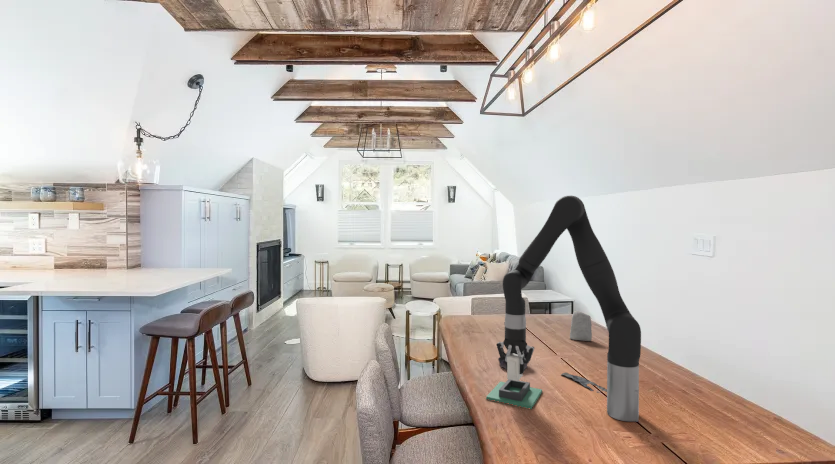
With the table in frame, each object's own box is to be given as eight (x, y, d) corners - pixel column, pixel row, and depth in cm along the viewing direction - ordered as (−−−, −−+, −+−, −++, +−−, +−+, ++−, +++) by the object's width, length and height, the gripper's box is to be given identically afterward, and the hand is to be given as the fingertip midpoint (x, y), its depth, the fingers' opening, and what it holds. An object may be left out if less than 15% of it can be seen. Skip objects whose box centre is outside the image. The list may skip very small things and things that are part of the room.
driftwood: (558, 375, 170) (558, 370, 170) (572, 373, 172) (572, 368, 172) (596, 396, 150) (597, 390, 150) (611, 393, 152) (611, 388, 152)
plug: (522, 375, 151) (522, 354, 151) (517, 382, 145) (517, 359, 144) (511, 373, 153) (512, 352, 152) (506, 379, 147) (506, 357, 146)
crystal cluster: (493, 369, 178) (495, 347, 176) (501, 357, 190) (503, 337, 188) (525, 377, 172) (526, 354, 170) (531, 364, 184) (532, 343, 182)
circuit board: (542, 392, 152) (542, 382, 152) (531, 409, 138) (531, 399, 138) (500, 383, 160) (500, 375, 160) (486, 399, 146) (486, 389, 146)
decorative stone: (592, 340, 219) (592, 312, 219) (590, 342, 214) (590, 314, 214) (571, 337, 225) (571, 309, 224) (568, 339, 220) (569, 312, 219)
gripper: (537, 325, 149) (537, 372, 149) (499, 321, 155) (499, 366, 156) (532, 330, 142) (532, 379, 142) (493, 325, 149) (492, 372, 149)
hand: (515, 372), depth 149 cm, fingers closed on plug, 4 cm apart
